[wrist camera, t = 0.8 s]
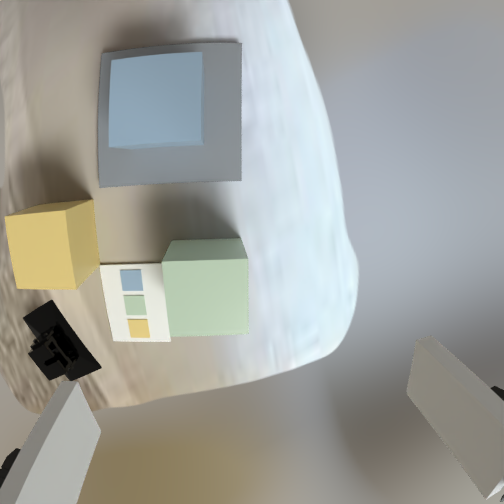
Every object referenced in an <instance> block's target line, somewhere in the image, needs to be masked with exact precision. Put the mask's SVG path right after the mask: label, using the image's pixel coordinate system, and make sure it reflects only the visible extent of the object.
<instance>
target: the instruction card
mask: <svg viewBox="0 0 504 504" xmlns="http://www.w3.org/2000/svg"><path fill="white" fill-rule="evenodd" d="M99 266H100V273H101V279H102V285H103V291H104V297H105V303H106V308H107V313H108V318H109V323H110V328H111V332H112V337H113V341H136V342H171V337H170V332H169V325H168V317H167V308H166V300H165V290H164V281H163V270H162V263H144V264H109V265H99Z"/></svg>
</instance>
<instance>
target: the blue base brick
mask: <svg viewBox="0 0 504 504" xmlns="http://www.w3.org/2000/svg"><path fill="white" fill-rule="evenodd" d="M192 145H204V65H203V54H202V52H186V53H171V54H159V55H149V56H140V57H132V58H124V59H117V60H112V61H111V75H110V94H109V147H111V148H122V149H142V148H156V147H172V146H192Z"/></svg>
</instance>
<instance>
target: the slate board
mask: <svg viewBox="0 0 504 504" xmlns="http://www.w3.org/2000/svg"><path fill="white" fill-rule="evenodd" d="M186 52H202V54H203V65H204V145H192V146H172V147H156V148H142V149H122V148H111V147H109V94H110V75H111V61H112V60H117V59H124V58H132V57H140V56H149V55H159V54H171V53H186ZM241 77H242V43H191V44H174V45H162V46H151V47H142V48H134V49H127V50H120V51H114V52H108V53H102V56H101V68H100V83H99V105H98V165H99V187H100V188H106V187H118V186H131V185H146V184H164V183H185V182H214V181H241Z"/></svg>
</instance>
